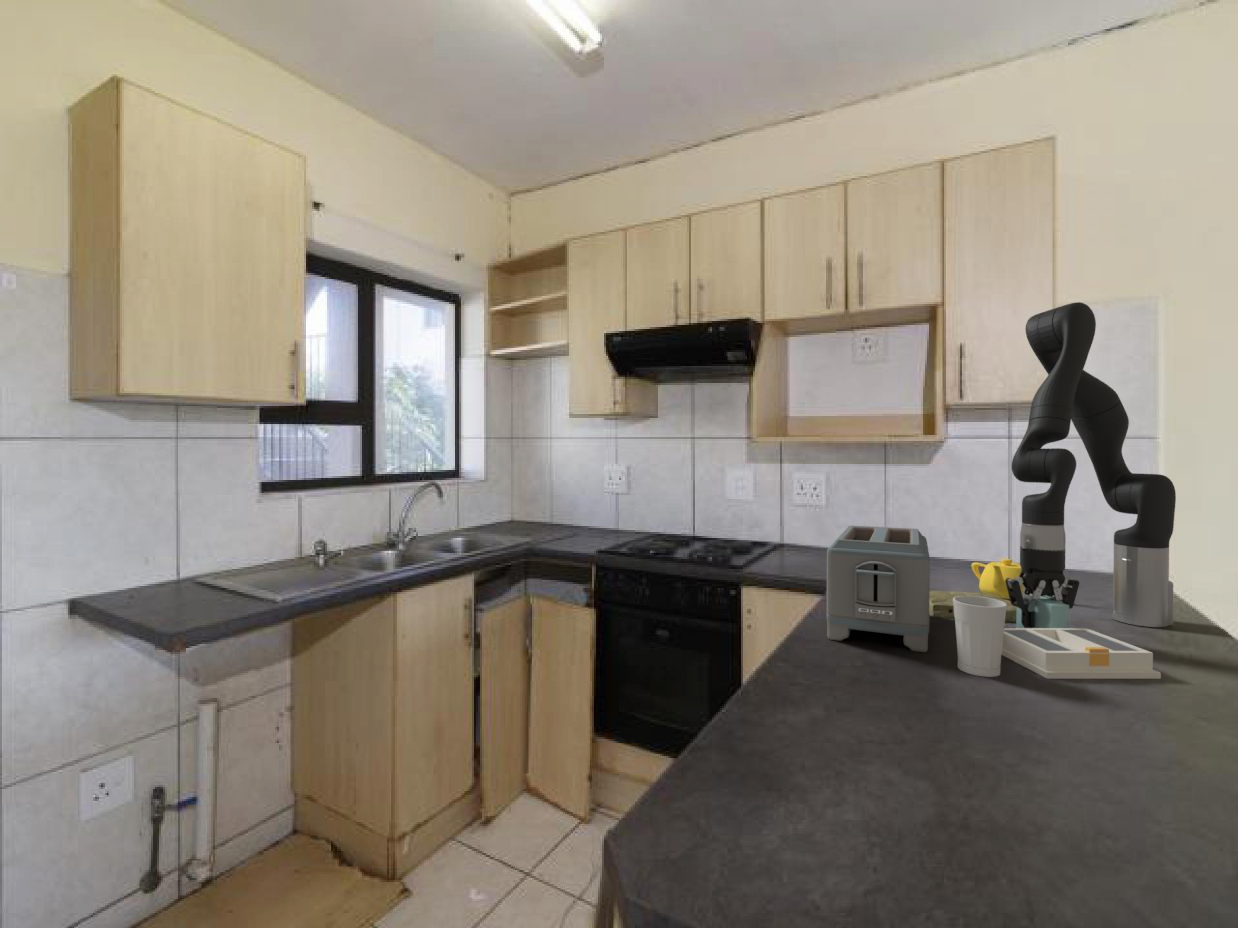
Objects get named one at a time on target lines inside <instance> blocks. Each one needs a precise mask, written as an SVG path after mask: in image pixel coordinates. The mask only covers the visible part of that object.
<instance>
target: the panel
mask: <svg viewBox="0 0 1238 928" xmlns="http://www.w3.org/2000/svg"><path fill="white" fill-rule="evenodd" d="M1032 595H1033V594H1031V593H1030V596H1032ZM1032 612H1034V628H1070V609H1069V605H1067V604H1064V603H1061V602H1058V601H1055V600H1052V599H1049V598H1046V597H1045V596H1040V598H1039V601H1038V602H1036V604H1035V607H1034V610H1033V611H1032ZM1021 614H1022V611H1021V609H1020V608H1018V607H1017V613H1016V622H1015V623H1016V627H1015V628H1024V626H1023V625H1022V623H1021Z"/></svg>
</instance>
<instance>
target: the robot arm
mask: <svg viewBox="0 0 1238 928" xmlns="http://www.w3.org/2000/svg"><path fill="white" fill-rule="evenodd" d="M1096 321H1097V320H1096V317H1095V313H1094V311H1093V310H1092V308H1091V307H1090V306H1089V305H1088V304H1086V303H1084V302H1080V301H1079V302H1072V303H1067V304H1065V305H1064V304H1063V305H1060V306H1058V307H1055V308H1052V309H1049V310H1046V311H1043V312H1040V313H1037V314H1034V315H1032V316H1030V317H1029V318H1028V319H1027V321H1026V322H1025V323H1026V324H1025V334H1026V339H1027V341H1028V345H1029V346H1030V348H1031V349H1032V351H1033V353H1034V355H1035V356H1036V357H1037V359H1038V361H1039V363H1040V364H1041V366H1042V367H1043V368H1044V371H1045V372H1046V373H1047V377H1046V378H1045V379H1044V381H1043V382H1042V383H1041V384H1040V386H1039V387H1038V389H1037V390H1036V392H1035V393H1034V397H1032V401H1031V403H1030V404H1031V405H1030V410H1029V418H1028V424H1027V427H1026V431H1025V433H1024V436H1023V437H1022V440H1021V441H1020V444H1019V445H1018V448H1017V449H1016V451H1015V453H1014V455H1013V457H1012V460H1011V472H1012V475H1013V476H1014V477H1015V478H1016V480H1018V481H1019V482H1022V483H1037V484H1038V483H1041V484H1050V487H1049V488H1048V489H1047V490H1046V491H1045V492H1040V493H1034V494H1026V495H1025V496H1024V497H1023V498H1022V501H1021V525H1020V526H1021V527H1020V536H1019V544H1020V545H1019V565H1020V566H1021V569H1022V571H1021V573H1020V575H1019V577H1017V578H1013V579H1010V578H1007V579H1006V580H1005V582H1006V586H1007V590H1008V594H1009V597H1010V599H1009V601H1010V602H1011V604H1012V605H1013V606H1016V607H1018V608H1020V609H1021V611H1022V614H1021V623H1022V625H1023V626H1024V628H1034V612H1032V611H1033V610H1034V607H1035V604H1036V602H1038V601H1039V598H1040V596H1043V597H1046V598H1049V599H1052V600H1055V601H1058V602H1061V603H1064V604H1067V605H1069V610H1070V609H1071V610H1072V609H1073V608H1074V604H1075V601H1076V597H1077V594H1078V590H1079V588H1080V580H1078V579H1074V578H1069V577H1066V576H1065V575H1064V571H1065V570H1066V543H1067V542H1066V540H1067V538H1066V532H1065V531H1066V530H1065V505H1066V500H1067V495H1068V492H1069V489H1070V485H1071V484H1072V480H1073V479H1074V476H1075V472H1076V470H1077V459H1076V456H1075V455H1074V454H1073V453H1072V451H1070V450H1069V449H1066V448H1061V447H1060V448H1056V447H1055V448H1042V447H1044V446H1045V445H1047V444H1050V443H1056V442H1059V441H1063V440H1065V439H1066V438H1067V437H1068V436H1069V433H1070V430H1071V429H1070V428H1071V422H1072V424H1073V427H1074V428H1075V430H1076V432H1077V433H1078V435H1079V437H1080V439H1081V442H1082V443H1083V446H1084V448H1085V450H1086V453H1087V455H1088V457H1089V459H1090V462H1091V464H1092V467H1093V469H1094V472H1095V475H1096V478H1097V481H1098V483H1099V486H1100V490H1101V492H1102V496H1103V497H1104V499H1105V501H1106V503H1107V505H1108V506H1109V507H1110V508H1111V509H1112V510H1113V511H1115V512H1118V513H1122V514H1128V515H1129V514H1130V515H1136V516H1137V517H1136V522H1135V523H1134V524H1133V525H1131V526H1129V527H1127V528H1122V529H1117V530H1116V531H1115V532H1114V533H1113V569H1112V570H1113V578H1112V579H1113V581H1112V583H1113V586H1112V587H1113V590H1112V618H1113V619H1114V620H1115V621H1118V622H1121V623H1124V624H1129V625H1134V626H1139V627H1140V626H1141V627H1149V628H1166V627H1168V626H1173V625H1174V621H1173V620H1174V619H1173V618H1174V614H1173V613H1174V583H1173V581H1171V580H1170V578H1169V577H1170V576H1169V575H1170V541H1171V538H1172V536H1173V532H1174V525H1175V514H1176V513H1175V512H1176V504H1177V503H1176V501H1177V499H1176V494H1177V493H1176V489H1175V486H1174V483H1173V481H1172V480H1171V479H1170V478H1169V477H1167V476H1166V475H1163V474H1159V473H1157V474H1156V473H1133V472H1131V471H1130V469H1129V468H1128V466H1127V464H1126V462H1125V460H1124V456H1123V452H1122V451H1123V450H1122V449H1123V445H1124V442H1125V439H1126V437H1127V433H1128V429H1129V427H1130V426H1129V425H1130V421H1129V415H1128V413H1127V410H1126V409H1125V406H1124V405H1123V402H1122V401H1121V398H1120V397H1119V395H1118V393H1117V392H1116V391H1115V390H1114V389H1113V388H1112V387H1111V386H1109V385H1108V384H1107V383H1105V382H1104V381H1103V380H1101V379H1100V378H1097V377H1096V376H1094V375H1092V374H1090V373H1089V372H1087V371H1086V370H1084V368H1085V366H1086V364H1087V363H1086V362H1087V360H1088V356H1089V353H1090V351H1091V347H1092V344H1093V342H1094V338H1095V334H1096V328H1097V325H1096V324H1097V323H1096ZM1021 584H1023V585H1024V589H1023V592H1021V589H1020V588H1022V586H1021ZM1061 587H1062V588H1061ZM1030 593H1031V594H1033V595H1032V596H1030Z"/></svg>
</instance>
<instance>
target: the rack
mask: <svg viewBox="0 0 1238 928" xmlns="http://www.w3.org/2000/svg"><path fill="white" fill-rule="evenodd" d="M1001 656H1003V657H1005V658H1007V659H1009V660H1011V661H1013V662H1015V663H1016V664H1018V665H1021V666H1022V667H1024V668H1026V669H1028V670H1030V671H1031V672H1033V673H1036V674H1037V675H1040V676H1041V677H1043V678H1045V679H1050V680H1051V679H1058V680H1059V679H1060V680H1061V679H1064V680H1065V679H1070V680H1072V679H1073V680H1074V679H1078V680H1079V679H1080V680H1081V679H1087V680H1088V679H1099V680H1100V679H1103V680H1104V679H1115V680H1117V679H1119V680H1122V679H1125V680H1126V679H1130V680H1131V679H1132V680H1133V679H1134V680H1135V679H1136V680H1138V679H1140V680H1141V679H1142V680H1143V679H1144V680H1146V679H1153V680H1155V679H1157V680H1158V679H1159V680H1161V678H1162V673H1161V672H1160V671H1158V670H1155V669H1153V668H1154V653H1153V652H1151V651H1149V650H1147V649H1144V648H1141V647H1138V646H1135V645H1132V644H1130V643H1129V642H1125V641H1122V640H1121V639H1120V640H1119V639H1116V638H1114V637H1112V636H1108V635H1106V634H1103V633H1100V632H1098V631H1096V630H1093V629H1089V628H1087V627H1085V628H1084V627H1069V628H1016V627H1004V634H1003V644H1002V654H1001Z"/></svg>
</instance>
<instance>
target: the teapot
mask: <svg viewBox="0 0 1238 928" xmlns="http://www.w3.org/2000/svg"><path fill="white" fill-rule="evenodd" d="M1000 561H1001V562H1000ZM1000 561H993V562H992V561H991V562H989V563H987V564H985V563H981V562H976V561H975V562H972V563H971V569H972V572H973V573H974V575H975V576H976V578H978V580H979V583H978V584H979V585H978V586H979V589H980V593H989V594H993V595H997V596H999V597H1001V598H1002V599H1004V600H1010V597H1009V594H1008V590H1007V586H1006V582H1005V580H1006V579H1007V578H1010V579H1013V578H1017V577H1019V575H1020V573H1021V571H1022V569H1021V566H1020V563H1019V562H1013V559H1011V558H1001V559H1000ZM979 567H982V568H984V569H983V571H982V573H981V572H980V570H979ZM1021 586H1022V588H1020V589H1021V592H1023V589H1024V585H1023V584H1021Z"/></svg>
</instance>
